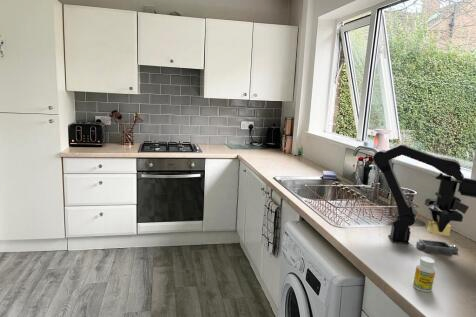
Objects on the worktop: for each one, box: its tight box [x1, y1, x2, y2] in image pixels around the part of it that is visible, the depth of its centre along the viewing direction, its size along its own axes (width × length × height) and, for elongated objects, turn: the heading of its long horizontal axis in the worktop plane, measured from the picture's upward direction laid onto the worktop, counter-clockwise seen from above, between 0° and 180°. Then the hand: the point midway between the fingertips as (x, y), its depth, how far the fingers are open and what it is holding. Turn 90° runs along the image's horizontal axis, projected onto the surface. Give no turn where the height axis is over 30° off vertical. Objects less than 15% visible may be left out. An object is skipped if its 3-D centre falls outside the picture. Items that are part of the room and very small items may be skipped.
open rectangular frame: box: [415, 238, 459, 256], centre depth 143 cm, size 15×6×3 cm, turn 86°
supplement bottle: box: [412, 256, 436, 293], centre depth 112 cm, size 5×5×10 cm
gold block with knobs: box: [426, 220, 452, 237], centre depth 142 cm, size 7×4×5 cm, turn 87°
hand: (438, 229), depth 142 cm, fingers closed on gold block with knobs, 3 cm apart
